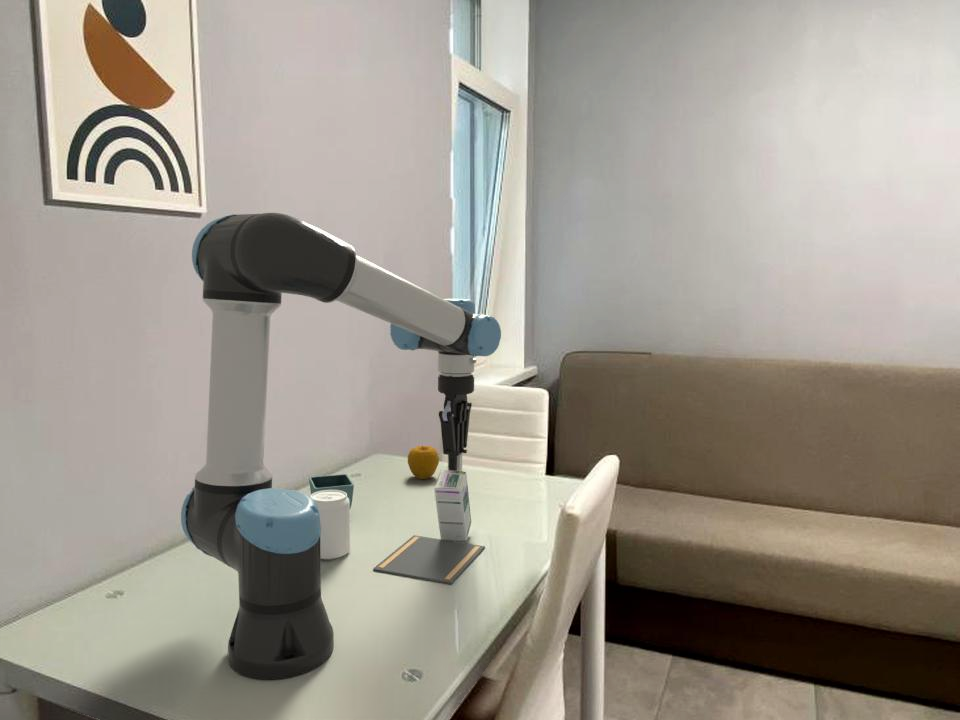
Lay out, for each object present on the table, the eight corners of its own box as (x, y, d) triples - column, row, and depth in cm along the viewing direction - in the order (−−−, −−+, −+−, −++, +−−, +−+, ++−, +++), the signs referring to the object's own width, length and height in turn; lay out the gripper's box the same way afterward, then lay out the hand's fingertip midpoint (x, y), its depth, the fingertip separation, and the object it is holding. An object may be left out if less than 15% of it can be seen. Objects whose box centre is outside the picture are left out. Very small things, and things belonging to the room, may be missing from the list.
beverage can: (340, 563, 137) (339, 503, 135) (301, 559, 138) (300, 500, 137) (356, 547, 145) (355, 490, 143) (319, 543, 146) (318, 487, 145)
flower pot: (355, 523, 158) (354, 484, 157) (315, 527, 155) (314, 488, 154) (347, 510, 166) (346, 473, 165) (309, 514, 163) (308, 476, 162)
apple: (427, 471, 199) (427, 440, 198) (445, 478, 193) (445, 446, 191) (401, 476, 194) (401, 445, 193) (419, 483, 187) (419, 451, 186)
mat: (451, 584, 128) (451, 581, 128) (373, 570, 134) (373, 567, 134) (484, 548, 145) (484, 545, 145) (413, 537, 150) (413, 534, 150)
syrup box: (467, 542, 148) (462, 489, 141) (439, 539, 149) (433, 487, 142) (471, 522, 153) (467, 470, 146) (444, 520, 154) (439, 468, 147)
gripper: (461, 379, 139) (460, 495, 142) (483, 370, 151) (481, 477, 154) (426, 376, 142) (425, 490, 145) (451, 368, 154) (450, 473, 157)
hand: (454, 483), depth 149 cm, fingers closed
